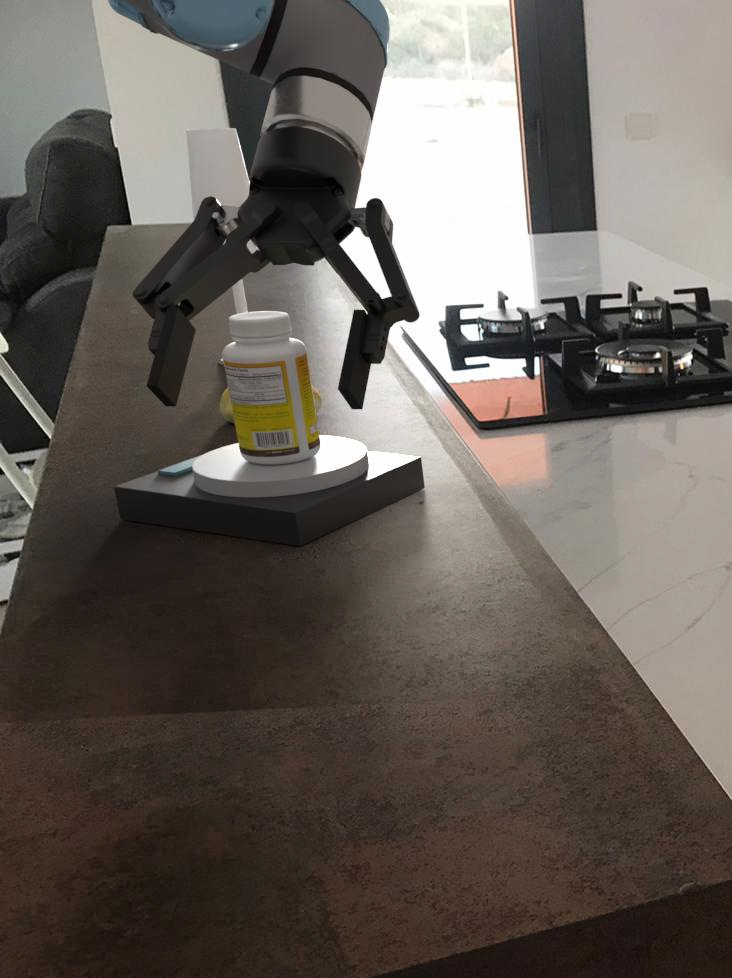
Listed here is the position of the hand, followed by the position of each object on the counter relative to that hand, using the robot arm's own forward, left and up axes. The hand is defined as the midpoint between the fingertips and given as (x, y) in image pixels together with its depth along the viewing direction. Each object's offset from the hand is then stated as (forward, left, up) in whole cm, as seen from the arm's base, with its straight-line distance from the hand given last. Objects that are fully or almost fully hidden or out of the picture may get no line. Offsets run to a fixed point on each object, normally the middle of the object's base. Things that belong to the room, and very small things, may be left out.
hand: (255, 398), depth 89 cm
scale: (-2, +2, -9) cm, 9 cm away
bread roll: (-20, +22, -9) cm, 31 cm away
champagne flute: (-40, +41, -9) cm, 58 cm away
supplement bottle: (-1, +2, -5) cm, 6 cm away
